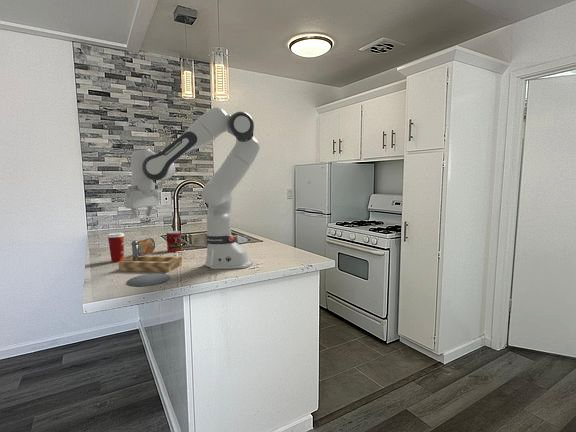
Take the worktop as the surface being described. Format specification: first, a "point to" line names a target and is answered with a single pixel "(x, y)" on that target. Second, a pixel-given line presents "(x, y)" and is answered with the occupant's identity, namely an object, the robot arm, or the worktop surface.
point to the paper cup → (116, 246)
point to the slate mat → (148, 279)
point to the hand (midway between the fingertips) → (142, 217)
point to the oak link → (151, 264)
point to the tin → (145, 246)
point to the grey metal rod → (135, 250)
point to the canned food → (173, 241)
